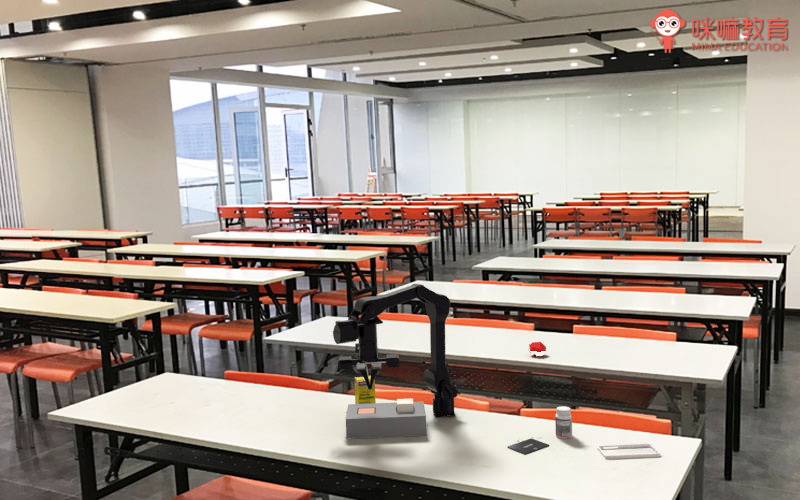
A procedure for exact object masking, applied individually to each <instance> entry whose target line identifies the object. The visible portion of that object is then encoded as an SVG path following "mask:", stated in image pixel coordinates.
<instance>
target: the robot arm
mask: <svg viewBox="0 0 800 500" xmlns="http://www.w3.org/2000/svg"><path fill="white" fill-rule="evenodd" d="M415 299H418V300H419V301H420V302H422V303H423V304H424V307H425V312H426V315H427V317H428V319H429V322H430V323H429V326H430V327H429V329H430V330H429V334H430V335H429V336H430V365H429V368H428V369H424V371H423V372H424V380H423V382H424V383H425V385H426V387H427V388H428V389H429V390H430V393H431V394H433V398H432V400H431V401H432V413H433V414H434V417H436V418H438V417H455V416H456V413H455V398H457V397H458V393H459V390H458V389H457V388H456V387H454V386H453V384H452V382H451V376H450V375H451V374H450V373H449V370H448V368H447V365H446V360H447V359H446V320H447V319H448V316H449V314H450V310H451V309H450V308H451V300H450V297H448V296H447V295H445V294H442V293H437V292H435V291H433V290H431V289H430V288H428V287H426V286H424V284H419V283H413V284H411V285H409V286H406V287H403V288H400V289H397V290H394V291H391V292H388V293H385V294H382V295H376V296H375V295H374V296H363V297H360V298H358V299H356V302H355V303H354V308H353V309H352V311H351V313H350V314H349V317H348V318H347V320H336V321H335V325H334V327H333V331H332V336H333V340H334V342H335V344H336V345H340V344H347V343H354V342H356V341H357V340H358V343H354V345H355V346H354V350H355V351H354V353H355V355H359V357H358V358H352V355H350V356H349V355H348V356H347V355H346V356H344V355H343V356H340V357H338V359H337V370H339V371H340V370H342V371H343V370H349V369H350V368H351V366H356V372H359V373H361V375H362V376H361V377H364V379H365V382H366V384H367V386H368V389H369V390H371V389H372V385H373V382H374V380H375V378H376V376H377V373H378V372H379V371H381V370H382V365H386V366H387V367H388V368H399V367H400V355H399V354H397V353H394V354H393V353H391V354H390V353H389V354H386V357H379V347H378V331H377V330H378V328H377V326H378V325H382V324H383V323H384V321H383V320H381V319H380V318H379V316H380V315H382V314H383V313H384V312H385V311H386V310H387V309H390V308H392V307H395V306H398V305H400V304H404V303H406V302H410V301H413V300H415ZM368 365H371V368H370V369H371V370H370V375H369V370H368ZM369 376H371V378H370V381H369Z"/></svg>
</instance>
